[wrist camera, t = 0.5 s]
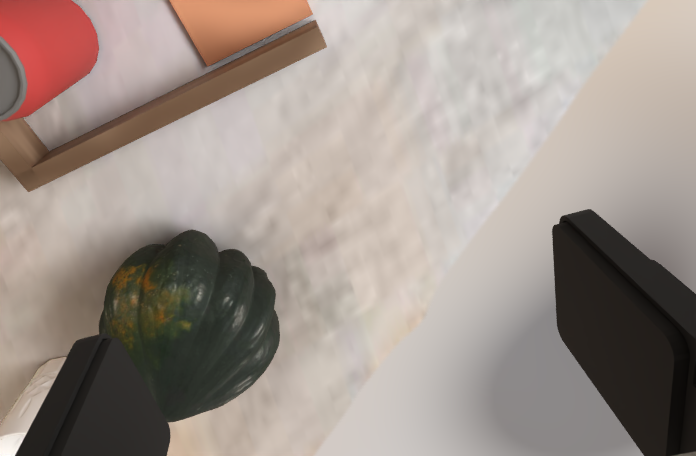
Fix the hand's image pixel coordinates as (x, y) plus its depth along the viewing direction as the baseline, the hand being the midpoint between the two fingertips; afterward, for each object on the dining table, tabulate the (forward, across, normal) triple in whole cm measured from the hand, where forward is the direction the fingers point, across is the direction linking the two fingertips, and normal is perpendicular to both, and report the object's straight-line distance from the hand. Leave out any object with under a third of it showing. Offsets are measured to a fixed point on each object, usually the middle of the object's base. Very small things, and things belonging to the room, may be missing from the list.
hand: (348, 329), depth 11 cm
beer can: (+35, +17, -5) cm, 39 cm away
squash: (+35, +15, +18) cm, 42 cm away
